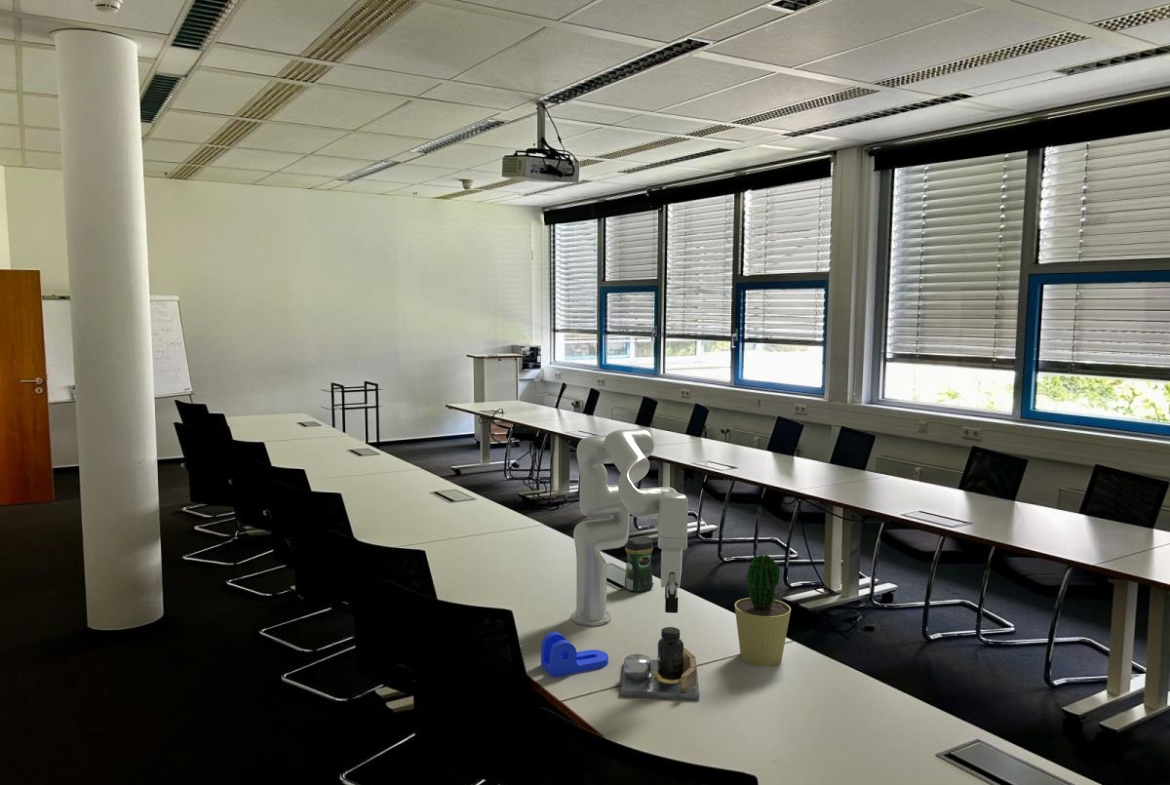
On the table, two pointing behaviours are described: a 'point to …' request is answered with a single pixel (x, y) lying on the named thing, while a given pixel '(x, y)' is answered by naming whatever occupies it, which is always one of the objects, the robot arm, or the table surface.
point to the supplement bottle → (670, 654)
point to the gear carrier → (658, 679)
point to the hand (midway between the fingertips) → (671, 605)
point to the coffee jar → (638, 564)
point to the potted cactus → (762, 615)
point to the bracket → (568, 657)
